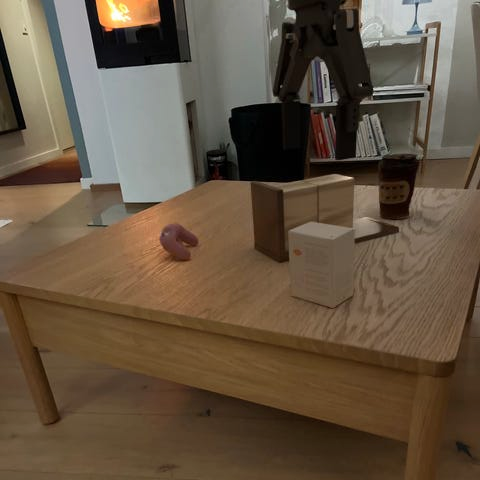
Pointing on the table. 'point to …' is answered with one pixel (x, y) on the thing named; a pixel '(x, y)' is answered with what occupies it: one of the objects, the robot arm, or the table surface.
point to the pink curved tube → (177, 240)
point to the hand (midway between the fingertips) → (316, 153)
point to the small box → (322, 263)
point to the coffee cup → (397, 184)
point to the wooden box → (307, 212)
